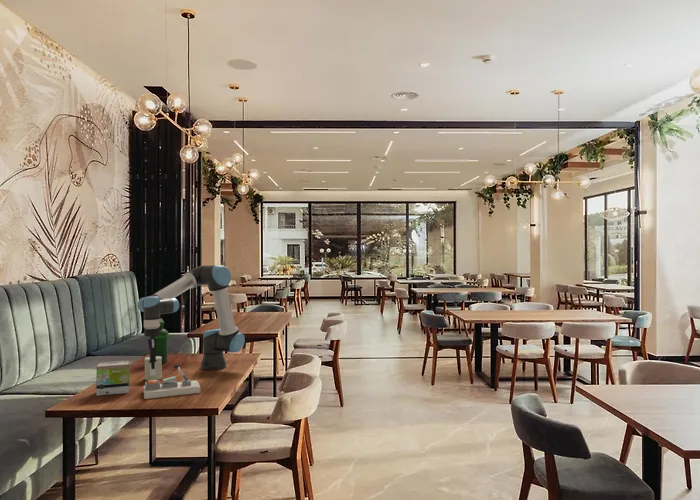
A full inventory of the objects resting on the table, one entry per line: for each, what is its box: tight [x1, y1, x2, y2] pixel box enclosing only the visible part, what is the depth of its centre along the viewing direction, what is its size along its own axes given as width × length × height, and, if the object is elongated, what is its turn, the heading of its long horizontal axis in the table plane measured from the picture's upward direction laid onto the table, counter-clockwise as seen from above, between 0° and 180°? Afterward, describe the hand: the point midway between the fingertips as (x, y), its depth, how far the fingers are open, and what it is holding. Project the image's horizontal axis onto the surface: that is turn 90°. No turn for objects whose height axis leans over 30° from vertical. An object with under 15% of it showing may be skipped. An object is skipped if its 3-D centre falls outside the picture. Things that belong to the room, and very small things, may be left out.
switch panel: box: [143, 378, 201, 400], centre depth 257 cm, size 26×14×6 cm, turn 114°
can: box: [144, 356, 163, 381], centre depth 286 cm, size 9×9×12 cm
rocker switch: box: [162, 375, 177, 383], centre depth 257 cm, size 6×4×1 cm, turn 114°
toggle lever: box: [173, 363, 189, 380], centre depth 259 cm, size 2×2×10 cm
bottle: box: [155, 318, 169, 365], centre depth 327 cm, size 11×11×28 cm
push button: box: [147, 379, 159, 384], centre depth 254 cm, size 5×5×3 cm
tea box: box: [95, 360, 130, 397], centre depth 258 cm, size 15×10×15 cm, turn 114°
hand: (153, 375), depth 254 cm, fingers closed
